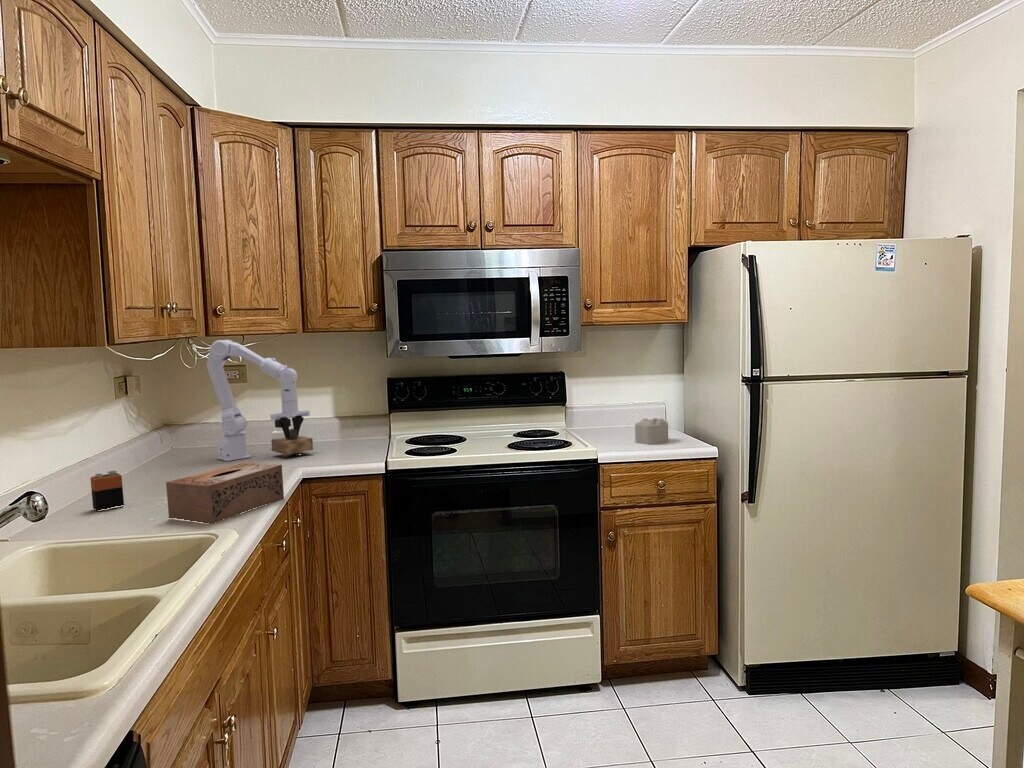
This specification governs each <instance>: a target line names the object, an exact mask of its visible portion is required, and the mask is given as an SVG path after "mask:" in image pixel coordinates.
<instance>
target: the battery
mask: <svg viewBox="0 0 1024 768" xmlns="http://www.w3.org/2000/svg"><path fill="white" fill-rule="evenodd" d="M89 479H90V488H91V489H90V491H91V500H92V508H94V509H96V510H101V509H107V508H111V507H115V506H121V505H124V506H125V498H124V487H123V477H122V474H120V473H118V471H117V470H109V471H107V474H102V473H95V474H94V476H91V477H90V478H89ZM94 509H93V510H94ZM96 510H95V511H96Z"/></svg>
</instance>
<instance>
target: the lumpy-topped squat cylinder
mask: <svg viewBox="0 0 1024 768" xmlns="http://www.w3.org/2000/svg"><path fill="white" fill-rule="evenodd" d="M634 440H635V441H634V442H635V443H636V444H642V445H648V446H654V445H656V446H657V445H662V444H665V443H666V444H667V443H668V442H669V422H668V421H665V420H664V419H663V418H656V417H654V418H651V419H648V418H643V419H641V420H640V421H638V422H635V424H634Z"/></svg>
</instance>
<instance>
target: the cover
mask: <svg viewBox="0 0 1024 768" xmlns="http://www.w3.org/2000/svg"><path fill="white" fill-rule="evenodd" d="M313 441H314V440H313V438H312V437H307V436H302V435H298V437H297V429H294V428H290V429H289V438H278V439H272V438H271V451H272V452H273V453H274V452H275V453H278V454H281V455H283V454H291V453H292V454H294V453H297V452H303V453H304V452H308V451H314V444H313V443H314V442H313Z"/></svg>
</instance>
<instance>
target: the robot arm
mask: <svg viewBox="0 0 1024 768" xmlns="http://www.w3.org/2000/svg"><path fill="white" fill-rule="evenodd" d="M207 357H208V358H207V361H206V368H207V371H208V374H209V377H210V380H211V383H212V386H213V389H214V391H215V394H216V398H217V400H218V404H219V406H220V409H221V417H220V418H221V429H222V432H224V435H222V436H218V439H217V450H218V451H217V452H218V456H217V459H219V460H221V461H225V462H229V461H235V460H242V459H248V458H251V457H252V455H249V454H248V451H247V437H246V431H245V429H246V427H247V426H248V425H247V424H248V422H247V419H246V417H244V416H243V414H242V412H241V410H240V409H239V408H238V406H237V404H236V402H235V399H234V396H233V393H232V388H231V387H230V383H229V380H228V377H227V375H226V372H225V369H224V365H225V364H226V362H227V361H228V360H229V359H230V358H231V357H240V358H241V359H242V358H243V359H244V360H247V361H249V362H251V363H253V364H255V365H257V366H258V367H259V368H260V371H261V372H263V373H264V374H266V375H268V376H270V377H272V378H274V379H275V380H278V382H279V383H280V394H281V395H280V397H281V398H280V399H281V412H280V413H278V412H277V413H273V414H270V421H275V420H277V419H278V422H279V424H280V425H281V427H282V429H283V432H284V435H285V438H289V422H290V420H291V423H292V425H293V426H292V427H293V428H292V429H297V437H298V436H300V435H299V433H300V430H301V426H302V424H303V422H304V417H309V416H310V415H311V414H310V410H299V402H298V388H297V381H298V379H299V378H298V373H297V371H296V370H295V369H293V368H292V367H288V365H286V364H282V363H280V362H278V361H277V359H276V358H274V357H266V358H265V357H262V356H261V355H259V354H257V353H255V352H254V351H252V350H250V349H249V348H247V347H245V346H244V345H242V344H240V343H238V342H236V341H235V342H234V341H233V340H231V339H223V340H221V339H219V340H218V339H217V340H215V341H214V342H213V343H212V344H211V345H210V347H209V348H208V356H207ZM287 418H289V419H290V420H288V419H287Z"/></svg>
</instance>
